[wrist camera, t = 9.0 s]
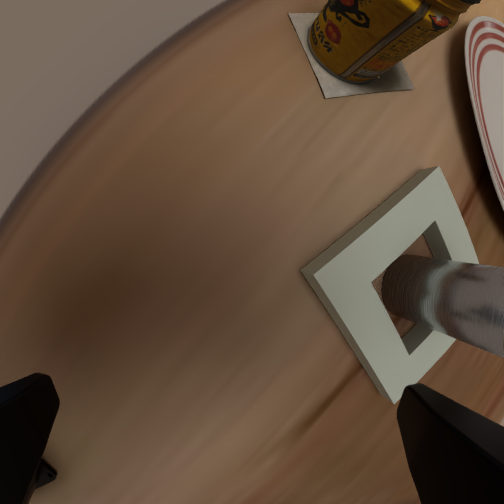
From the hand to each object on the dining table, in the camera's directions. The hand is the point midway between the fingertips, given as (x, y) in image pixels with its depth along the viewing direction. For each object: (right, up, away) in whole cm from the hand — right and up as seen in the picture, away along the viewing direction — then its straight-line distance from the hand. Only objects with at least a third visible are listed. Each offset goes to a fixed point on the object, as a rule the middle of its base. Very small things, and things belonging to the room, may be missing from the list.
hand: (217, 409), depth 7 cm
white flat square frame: (+12, +1, +14) cm, 19 cm away
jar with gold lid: (+12, +1, +14) cm, 18 cm away
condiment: (+8, +18, +12) cm, 24 cm away
